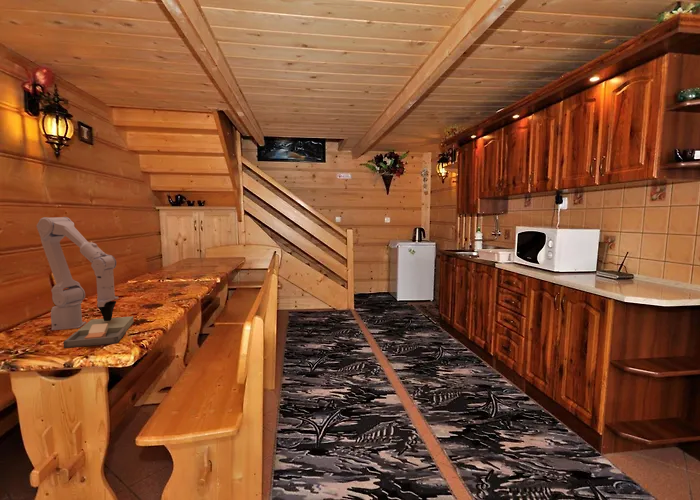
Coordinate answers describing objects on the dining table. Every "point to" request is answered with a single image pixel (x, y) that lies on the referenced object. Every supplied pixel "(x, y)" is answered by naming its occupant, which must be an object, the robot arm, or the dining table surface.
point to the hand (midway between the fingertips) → (107, 320)
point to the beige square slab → (113, 324)
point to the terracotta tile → (96, 335)
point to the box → (93, 339)
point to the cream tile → (99, 328)
